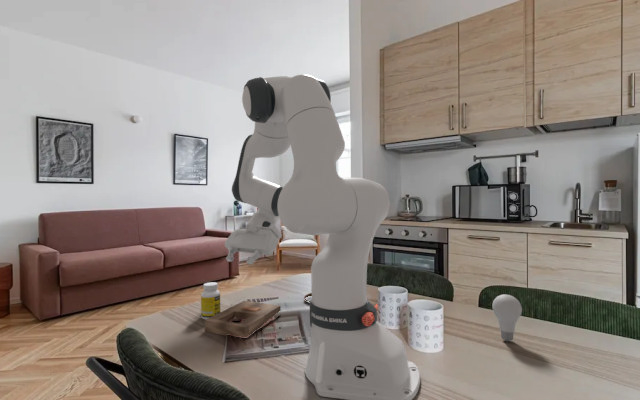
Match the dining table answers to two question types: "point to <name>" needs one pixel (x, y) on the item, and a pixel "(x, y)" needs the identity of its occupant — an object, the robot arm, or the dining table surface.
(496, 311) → the lightbulb
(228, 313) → the block
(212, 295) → the supplement bottle
